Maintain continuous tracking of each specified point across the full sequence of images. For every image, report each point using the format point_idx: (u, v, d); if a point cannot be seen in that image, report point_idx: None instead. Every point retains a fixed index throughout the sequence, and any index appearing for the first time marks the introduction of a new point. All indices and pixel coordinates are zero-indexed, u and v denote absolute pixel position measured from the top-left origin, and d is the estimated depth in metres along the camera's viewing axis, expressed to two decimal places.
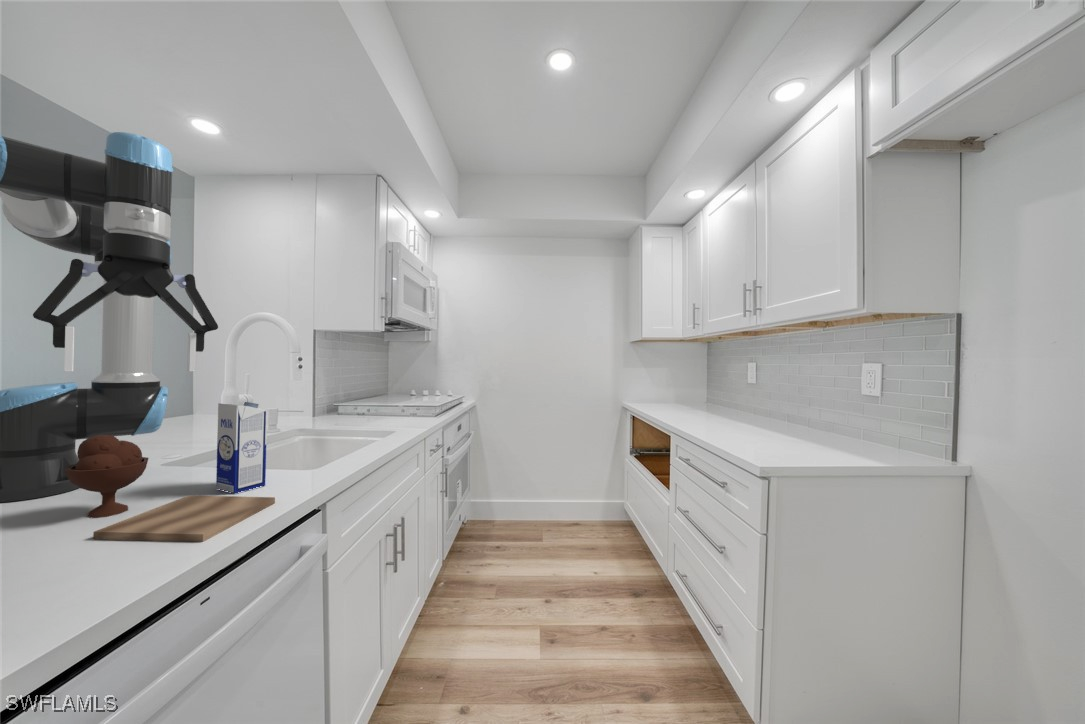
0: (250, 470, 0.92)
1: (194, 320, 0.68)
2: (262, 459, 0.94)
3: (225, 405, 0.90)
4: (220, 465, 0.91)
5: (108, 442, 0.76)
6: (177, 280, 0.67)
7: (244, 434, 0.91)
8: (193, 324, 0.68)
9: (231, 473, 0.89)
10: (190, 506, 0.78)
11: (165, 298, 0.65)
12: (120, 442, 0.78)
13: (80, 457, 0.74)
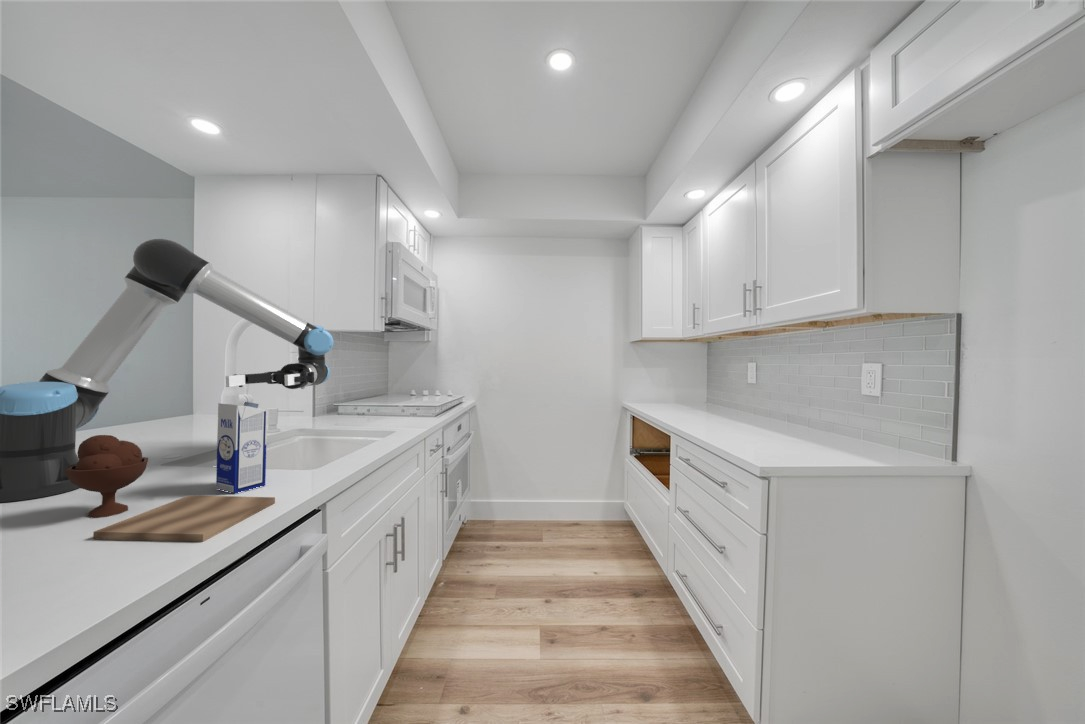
0: (250, 470, 0.92)
1: None
2: (262, 459, 0.94)
3: (225, 405, 0.90)
4: (220, 465, 0.91)
5: (108, 442, 0.76)
6: None
7: (244, 434, 0.91)
8: (247, 383, 1.07)
9: (231, 473, 0.89)
10: (190, 506, 0.78)
11: (269, 383, 1.12)
12: (120, 442, 0.78)
13: (80, 457, 0.74)
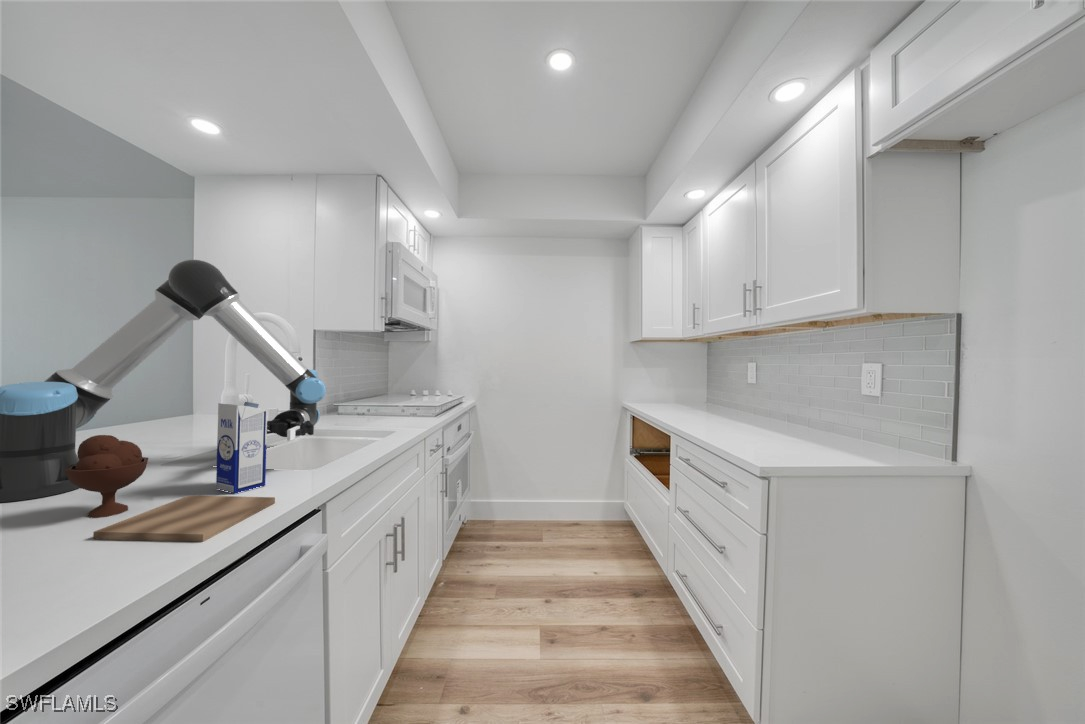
0: (250, 470, 0.92)
1: None
2: (262, 459, 0.94)
3: (225, 405, 0.90)
4: (220, 465, 0.91)
5: (108, 442, 0.76)
6: None
7: (244, 434, 0.91)
8: None
9: (231, 473, 0.89)
10: (190, 506, 0.78)
11: None
12: (120, 442, 0.78)
13: (80, 457, 0.74)
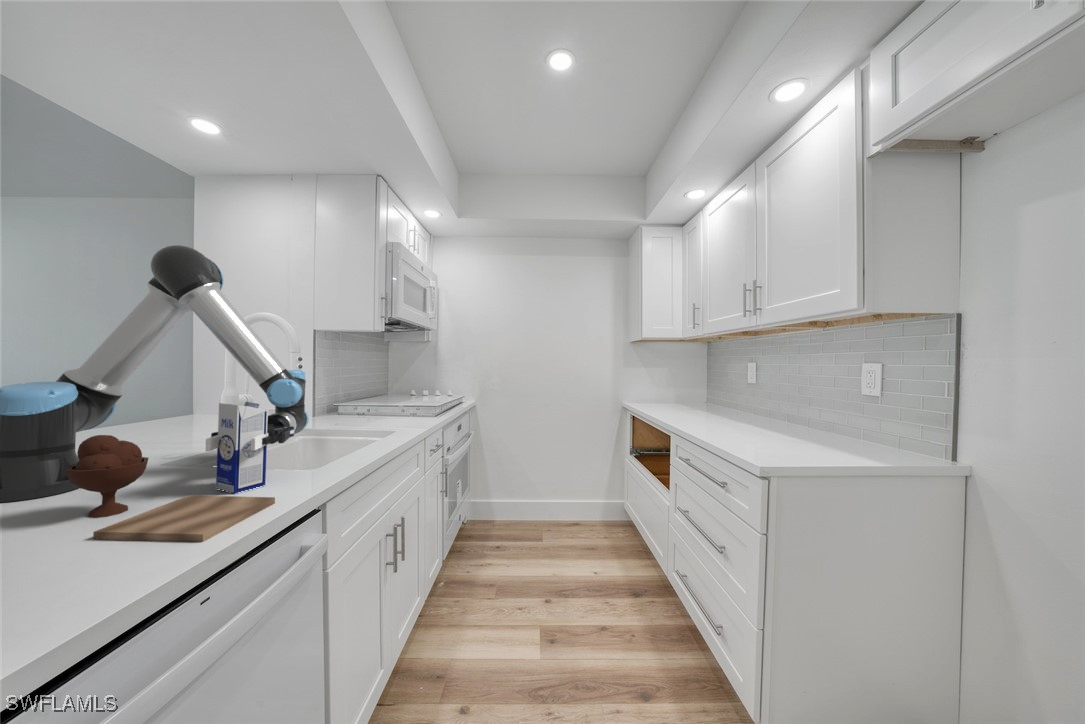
0: (250, 470, 0.92)
1: None
2: (262, 459, 0.94)
3: (226, 405, 0.90)
4: (220, 465, 0.91)
5: (108, 442, 0.76)
6: None
7: (245, 435, 0.91)
8: None
9: (231, 473, 0.89)
10: (190, 506, 0.78)
11: None
12: (120, 442, 0.78)
13: (80, 457, 0.74)
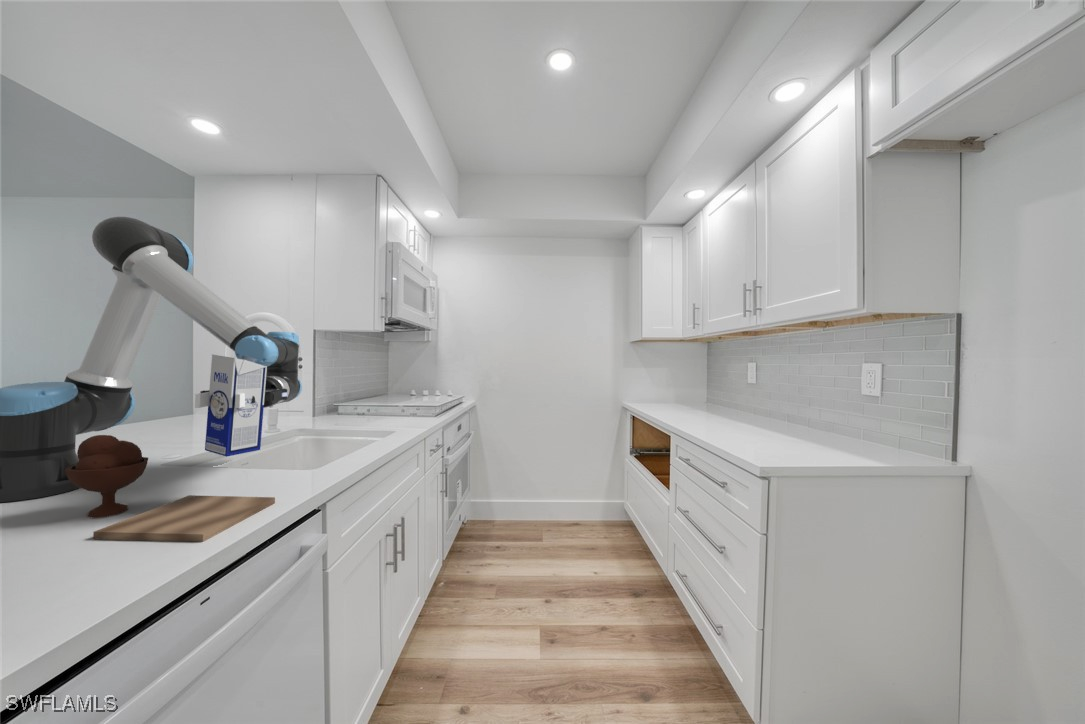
0: (244, 431, 0.83)
1: None
2: (258, 420, 0.85)
3: (220, 356, 0.80)
4: (211, 424, 0.81)
5: (108, 442, 0.76)
6: None
7: (240, 391, 0.81)
8: None
9: (223, 434, 0.80)
10: (190, 506, 0.78)
11: None
12: (120, 442, 0.78)
13: (80, 457, 0.74)
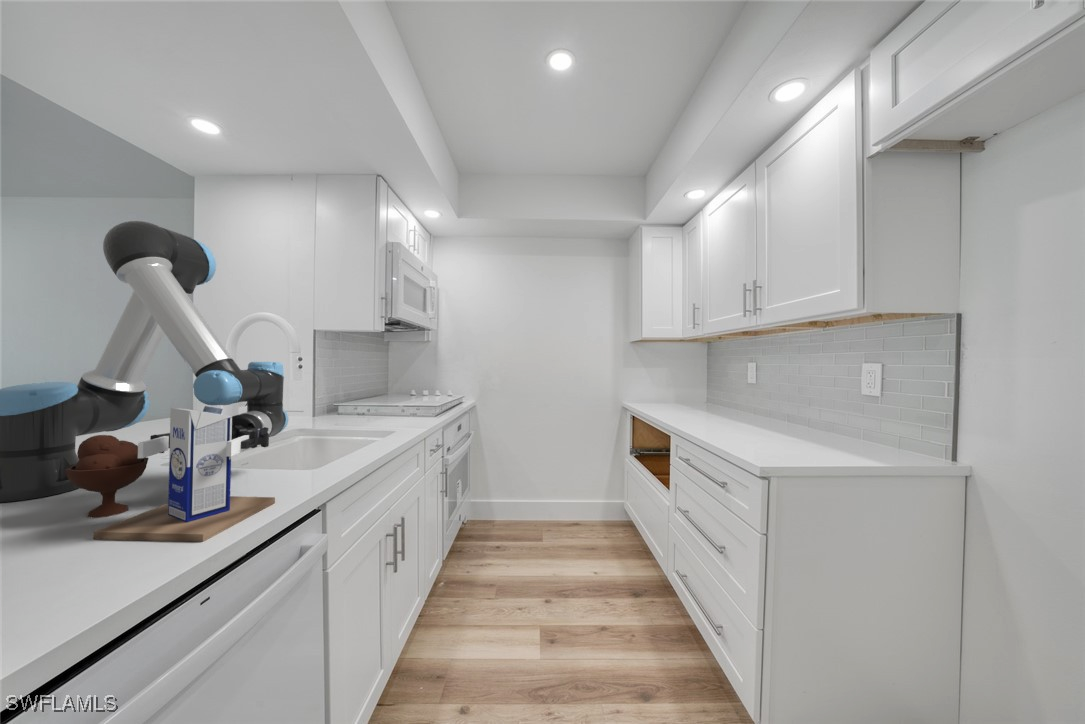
0: (208, 491, 0.73)
1: None
2: (225, 477, 0.76)
3: (177, 410, 0.72)
4: (172, 485, 0.73)
5: (108, 442, 0.76)
6: None
7: (200, 447, 0.72)
8: None
9: (183, 496, 0.71)
10: None
11: None
12: (120, 442, 0.78)
13: (80, 457, 0.74)
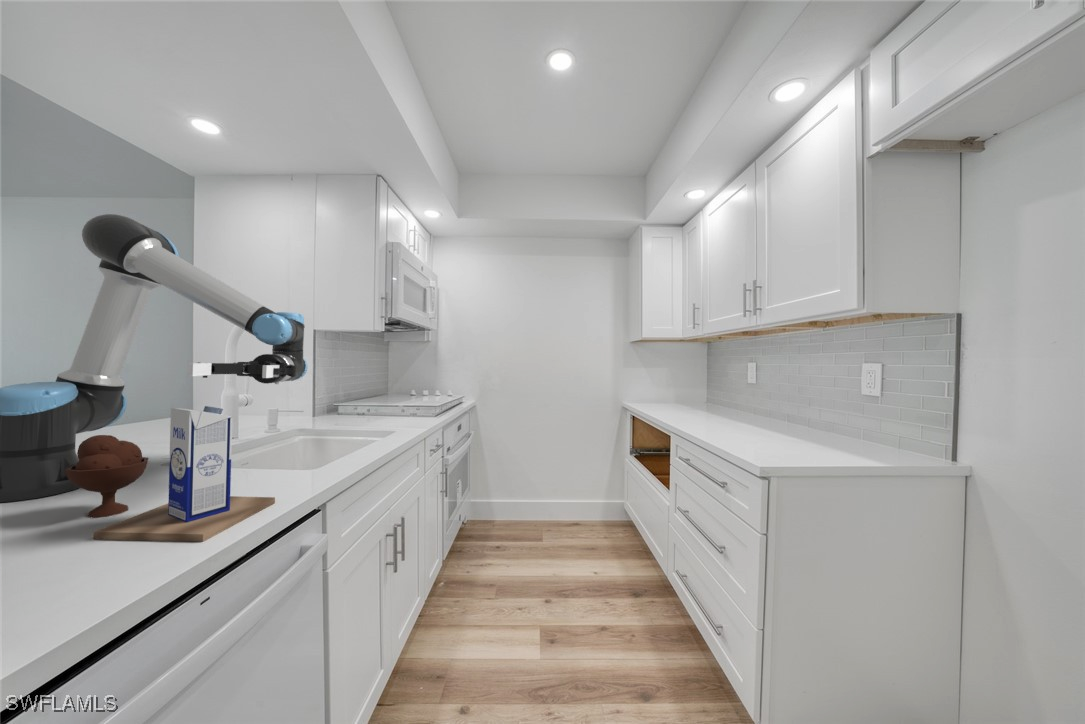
0: (208, 492, 0.73)
1: (214, 373, 0.92)
2: (225, 477, 0.76)
3: (177, 410, 0.72)
4: (172, 485, 0.73)
5: (108, 442, 0.76)
6: None
7: (200, 447, 0.72)
8: None
9: (183, 496, 0.71)
10: None
11: (239, 375, 0.96)
12: (120, 442, 0.78)
13: (80, 457, 0.74)
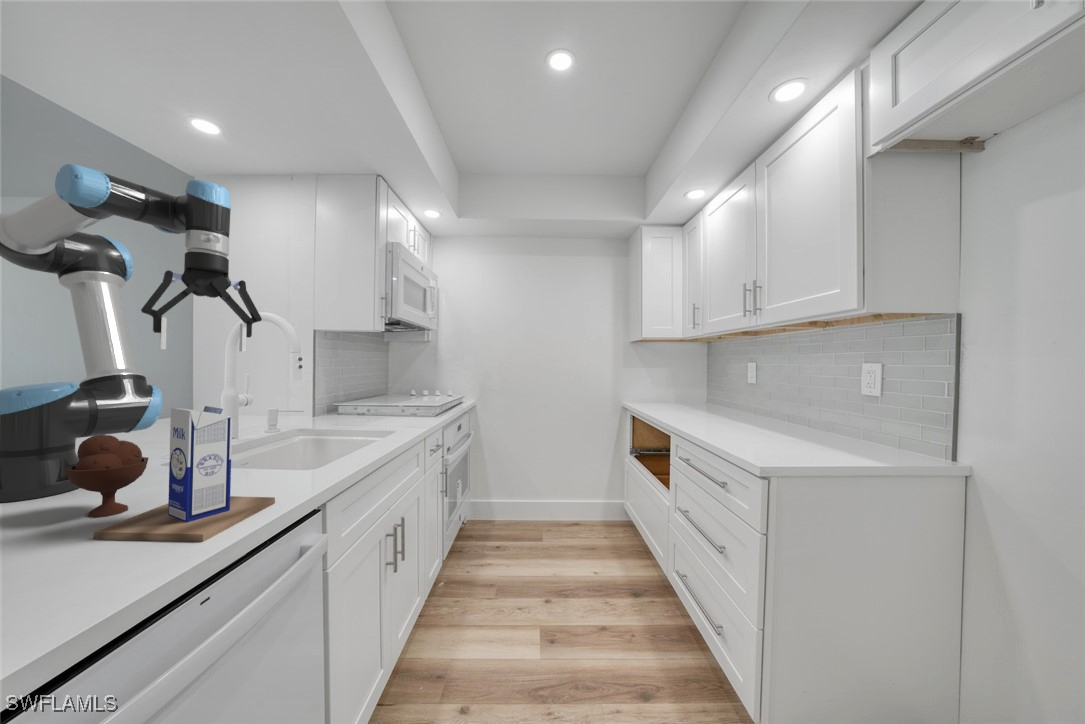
0: (208, 492, 0.73)
1: (245, 314, 0.93)
2: (225, 477, 0.76)
3: (177, 410, 0.72)
4: (172, 485, 0.73)
5: (108, 442, 0.76)
6: (233, 285, 0.92)
7: (200, 447, 0.72)
8: (244, 317, 0.93)
9: (183, 496, 0.71)
10: None
11: (226, 298, 0.90)
12: (120, 442, 0.78)
13: (80, 457, 0.74)
